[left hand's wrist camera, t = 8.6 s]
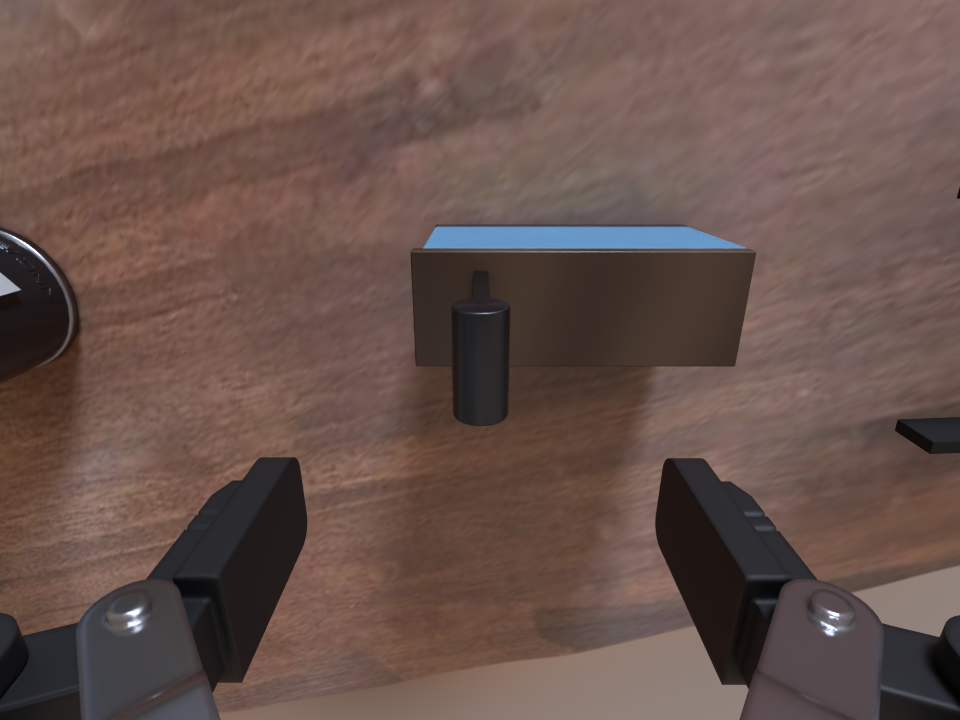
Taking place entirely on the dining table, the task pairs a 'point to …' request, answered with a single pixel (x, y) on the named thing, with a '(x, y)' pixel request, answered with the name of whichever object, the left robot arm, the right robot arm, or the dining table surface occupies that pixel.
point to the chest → (572, 237)
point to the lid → (572, 312)
